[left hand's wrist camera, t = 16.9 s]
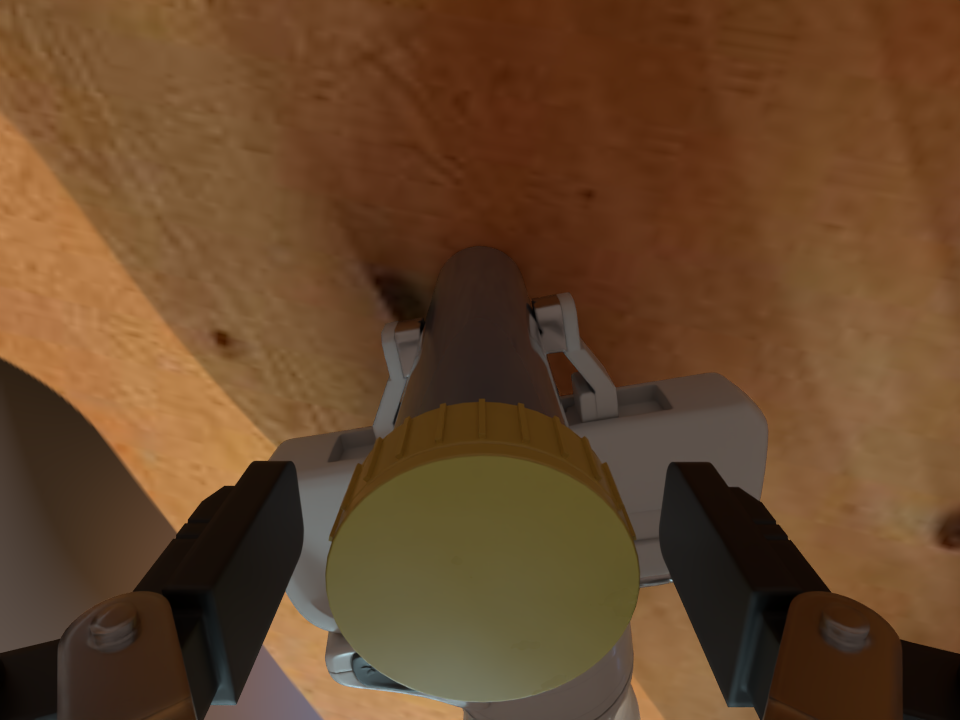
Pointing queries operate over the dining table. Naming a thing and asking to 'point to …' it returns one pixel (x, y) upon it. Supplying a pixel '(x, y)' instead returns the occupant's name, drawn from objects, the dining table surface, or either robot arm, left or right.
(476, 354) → the grey canister
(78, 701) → the left robot arm
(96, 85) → the dining table surface
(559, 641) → the lid
